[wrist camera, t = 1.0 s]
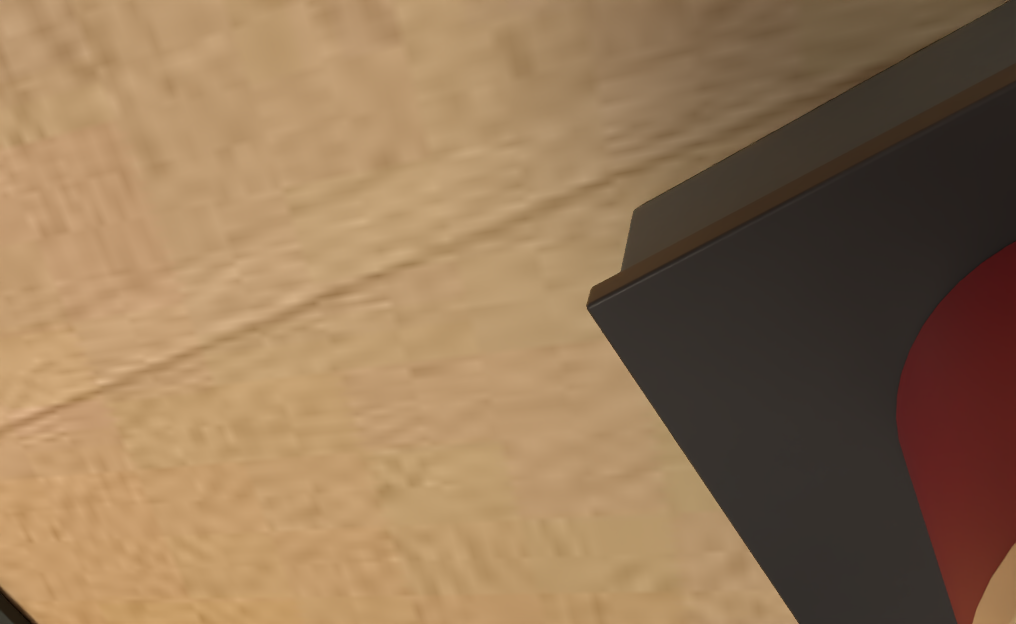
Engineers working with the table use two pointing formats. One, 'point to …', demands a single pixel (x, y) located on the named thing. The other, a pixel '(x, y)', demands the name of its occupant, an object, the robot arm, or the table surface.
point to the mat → (10, 613)
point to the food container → (823, 316)
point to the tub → (967, 438)
